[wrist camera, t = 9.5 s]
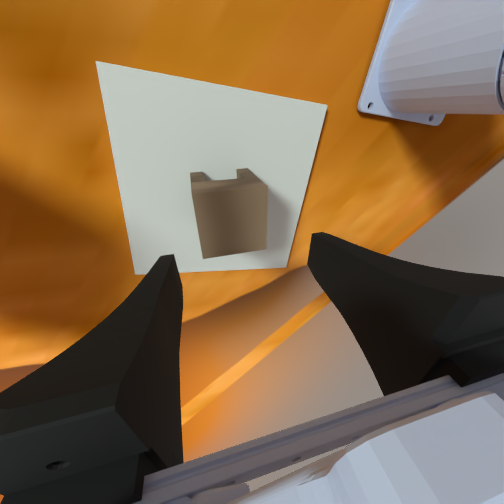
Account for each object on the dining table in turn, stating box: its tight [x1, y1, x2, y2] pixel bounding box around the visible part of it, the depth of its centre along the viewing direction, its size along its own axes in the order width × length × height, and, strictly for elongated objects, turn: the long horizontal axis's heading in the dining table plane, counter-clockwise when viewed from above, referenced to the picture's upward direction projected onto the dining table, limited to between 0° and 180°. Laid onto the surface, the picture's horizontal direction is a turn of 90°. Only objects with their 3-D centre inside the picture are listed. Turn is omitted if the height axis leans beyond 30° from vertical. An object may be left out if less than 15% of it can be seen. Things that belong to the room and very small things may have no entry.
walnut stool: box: [190, 168, 268, 259], centre depth 17 cm, size 5×5×6 cm
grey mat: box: [96, 61, 328, 275], centre depth 20 cm, size 16×16×1 cm
